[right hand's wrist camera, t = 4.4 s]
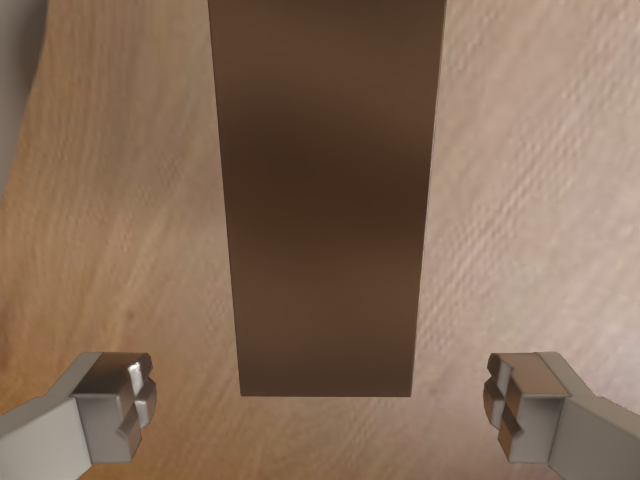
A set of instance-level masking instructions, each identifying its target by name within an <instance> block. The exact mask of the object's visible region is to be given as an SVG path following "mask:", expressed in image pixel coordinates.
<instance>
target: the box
mask: <svg viewBox="0 0 640 480" xmlns="http://www.w3.org/2000/svg"><path fill="white" fill-rule="evenodd" d="M446 3H447V0H208V9H209V21H210V33H211V45H212V57H213V69H214V81H215V93H216V105H217V117H218V129H219V141H220V153H221V165H222V177H223V189H224V201H225V213H226V225H227V237H228V249H229V261H230V273H231V285H232V297H233V309H234V321H235V333H236V345H237V357H238V369H239V381H240V393H241V396H281V397H411V393H412V382H413V370H414V359H415V348H416V337H417V326H418V315H419V304H420V293H421V281H422V270H423V259H424V248H425V237H426V226H427V215H428V203H429V192H430V181H431V170H432V159H433V148H434V137H435V125H436V114H437V103H438V92H439V81H440V70H441V59H442V48H443V36H444V25H445V14H446Z"/></svg>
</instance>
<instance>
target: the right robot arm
mask: <svg viewBox="0 0 640 480" xmlns="http://www.w3.org/2000/svg"><path fill="white" fill-rule="evenodd" d="M152 368H153V366H152V361H151V356H150V355H149V354H148V353H133V352H84V353H81V354H80V355H79V356H78V357H77V358H76V359H75V360H74V362H73V363H72V364H71V365H70V366H69V367H68V369H67V370H66V371H65V372H64V373H63V375H62V376H61V377H60V378H59V379H58V380H57V382H56V383H55V384H54V385H53V386H52V387H51V389H50V390H49V391H48V392H47V393H46V395H45V396H44V397H35V398H34V399H32V400H30V401H28V402H26V403H24V404H22V405H20V406H18V407H16V408H14V409H12V410H10V411H8V412H7V413H5V414H3V415H1V416H0V480H76V479H77V478H78V477H80V476H81V475H82V474H83V473H84V472H85V471H87V470H88V469H89V468H90V467H91V466H92V465H91V464H112V463H131V461H132V459H133V457H134V455H135V453H136V451H137V449H138V447H139V445H140V443H141V441H142V435H141V430H142V429H143V428H145V427H146V426H148V425H149V424H150V422H151V420H152V418H153V415H154V412H155V407H156V402H157V391H156V384H155V382H154V381H153V380H152V379H151V378H150V377H149V374H150V372H151V370H152ZM487 368H488V370H489V372H490V374H491V377H490V378H489V379H488V380H487V381H486V382H485V384H484V392H483V399H484V408H485V412H486V415H487V418H488V420H489V422H490V424H491V425H492V426H494V427H495V428H497V429H498V430H499V435H498V441H499V443H500V445H501V447H502V449H503V451H504V453H505V455H506V457H507V459H508V461H509V463H527V464H549V465H548V466H549V467H550V468H551V469H552V470H554V471H555V472H556V473H557V474H558V475H559V476H561V477H562V478H563V479H564V480H640V416H639V415H637V414H635V413H633V412H631V411H630V410H628V409H626V408H624V407H622V406H620V405H618V404H616V403H614V402H612V401H610V400H608V399H606V398H605V397H596V396H595V395H594V393H593V392H592V391H591V390H590V389H589V388H588V386H587V385H586V384H585V383H584V382H583V380H582V379H581V378H580V377H579V376H578V375H577V373H576V372H575V371H574V370H573V369H572V368H571V366H570V365H569V364H568V363H567V362H566V360H565V359H564V358H563V357H562V356H561V355H560V354H559V353H557V352H534V353H491V355H490V357H489V360H488V366H487Z"/></svg>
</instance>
